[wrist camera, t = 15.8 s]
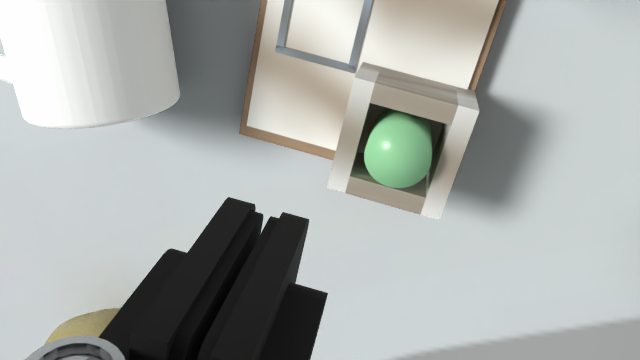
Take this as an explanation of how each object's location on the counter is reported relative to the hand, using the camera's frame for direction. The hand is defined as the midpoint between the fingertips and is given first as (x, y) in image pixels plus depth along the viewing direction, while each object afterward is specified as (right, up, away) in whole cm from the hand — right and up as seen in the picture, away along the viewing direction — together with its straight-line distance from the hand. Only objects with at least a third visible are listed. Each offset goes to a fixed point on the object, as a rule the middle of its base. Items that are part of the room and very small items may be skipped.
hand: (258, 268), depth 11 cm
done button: (+6, +4, +18) cm, 19 cm away
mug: (-12, +12, +21) cm, 27 cm away
